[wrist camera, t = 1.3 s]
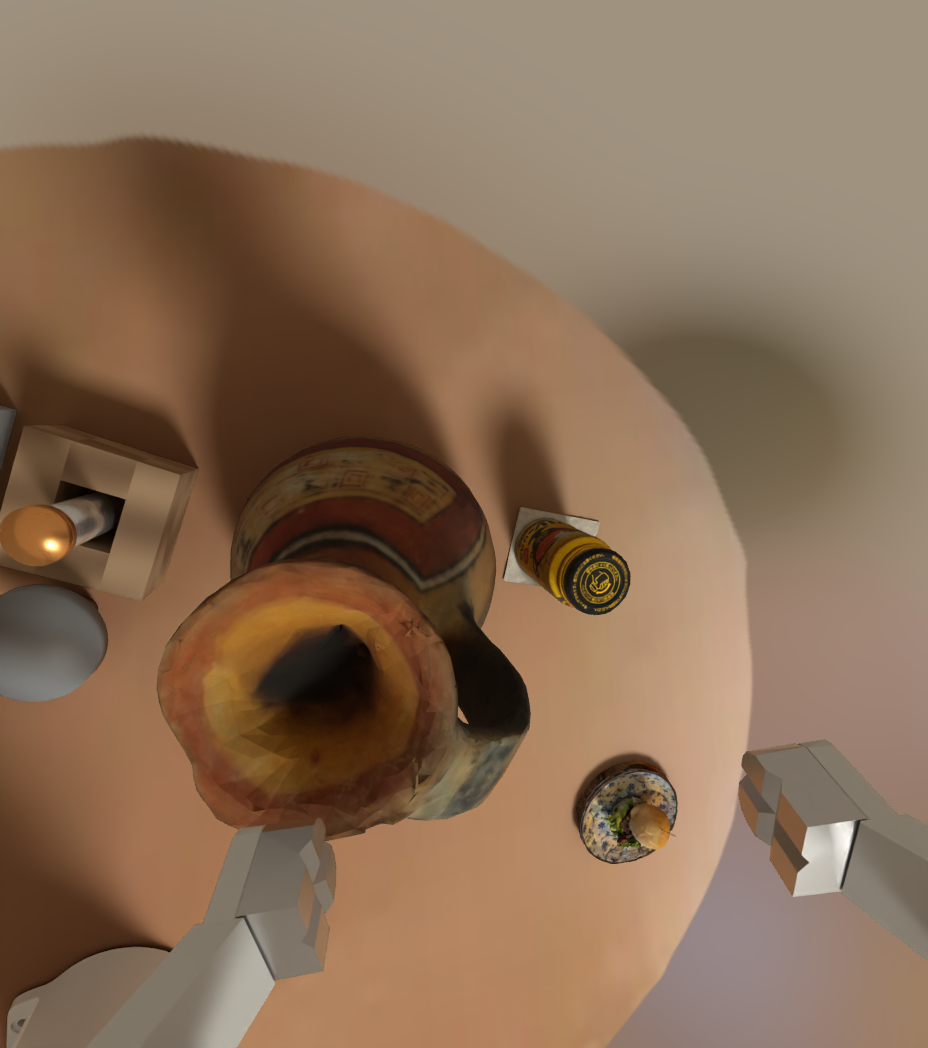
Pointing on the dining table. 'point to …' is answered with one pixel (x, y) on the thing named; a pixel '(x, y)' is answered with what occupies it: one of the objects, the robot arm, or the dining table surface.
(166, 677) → the ceramic pitcher
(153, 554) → the block
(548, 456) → the dining table surface
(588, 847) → the burger
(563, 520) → the condiment
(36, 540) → the pin
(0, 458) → the tray
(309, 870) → the robot arm
